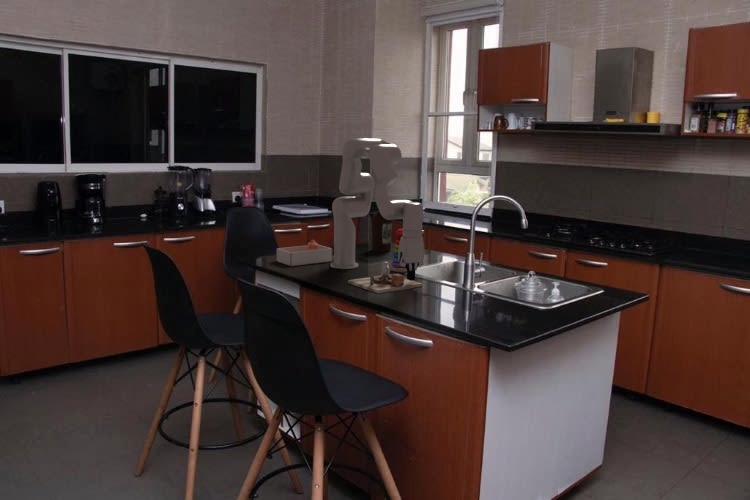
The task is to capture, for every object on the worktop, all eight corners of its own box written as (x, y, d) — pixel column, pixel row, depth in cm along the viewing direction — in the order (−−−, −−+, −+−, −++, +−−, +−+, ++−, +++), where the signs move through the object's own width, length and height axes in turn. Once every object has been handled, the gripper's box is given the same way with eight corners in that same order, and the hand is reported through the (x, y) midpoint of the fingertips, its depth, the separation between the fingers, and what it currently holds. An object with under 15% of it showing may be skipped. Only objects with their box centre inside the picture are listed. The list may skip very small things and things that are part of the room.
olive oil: (366, 250, 340) (367, 201, 335) (380, 248, 347) (382, 200, 343) (381, 253, 332) (382, 203, 328) (395, 250, 340) (397, 202, 335)
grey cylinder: (366, 283, 260) (367, 263, 259) (385, 280, 266) (386, 261, 265) (371, 285, 258) (371, 265, 256) (390, 282, 264) (391, 262, 262)
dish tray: (276, 261, 307) (276, 248, 306) (317, 256, 320) (317, 244, 319) (290, 266, 296) (290, 252, 295) (332, 261, 310) (332, 248, 308)
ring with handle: (369, 280, 265) (369, 270, 264) (387, 277, 270) (387, 268, 270) (391, 287, 253) (391, 277, 253) (409, 284, 259) (410, 274, 258)
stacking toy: (407, 273, 287) (408, 230, 283) (389, 272, 288) (390, 229, 285) (410, 269, 294) (411, 228, 291) (392, 268, 296) (393, 227, 293)
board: (348, 283, 266) (348, 280, 265) (391, 276, 279) (391, 274, 278) (378, 293, 250) (378, 290, 250) (422, 286, 263) (422, 283, 263)
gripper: (421, 231, 265) (420, 276, 268) (391, 234, 257) (389, 280, 260) (433, 234, 259) (431, 279, 262) (402, 236, 251) (401, 283, 254)
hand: (410, 279), depth 261 cm, fingers closed
